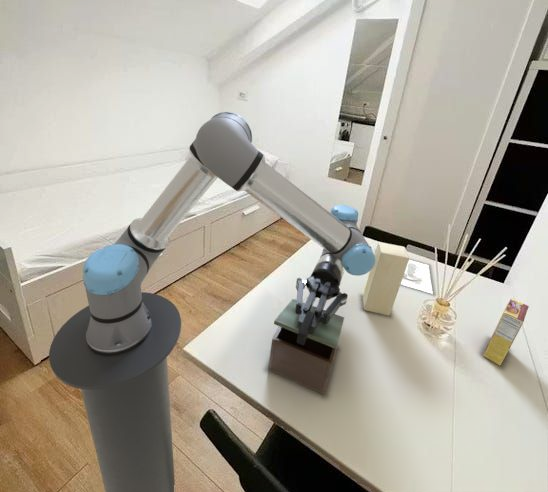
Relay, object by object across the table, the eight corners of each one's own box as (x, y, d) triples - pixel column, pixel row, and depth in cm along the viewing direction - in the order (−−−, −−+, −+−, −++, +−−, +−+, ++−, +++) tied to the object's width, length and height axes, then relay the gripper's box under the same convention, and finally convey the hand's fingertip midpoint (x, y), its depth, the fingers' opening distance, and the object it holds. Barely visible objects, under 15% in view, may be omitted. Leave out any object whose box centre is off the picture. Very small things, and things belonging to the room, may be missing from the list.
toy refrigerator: (387, 300, 96) (404, 245, 87) (390, 316, 89) (409, 258, 81) (362, 294, 97) (377, 240, 89) (363, 310, 90) (380, 252, 82)
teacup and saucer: (396, 276, 109) (399, 267, 107) (396, 265, 115) (399, 256, 114) (421, 283, 106) (424, 274, 104) (420, 272, 113) (423, 263, 111)
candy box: (489, 338, 84) (511, 297, 78) (507, 348, 82) (531, 306, 76) (481, 355, 79) (504, 311, 73) (499, 366, 76) (525, 322, 70)
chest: (324, 395, 64) (332, 364, 60) (268, 369, 68) (272, 339, 65) (336, 348, 76) (343, 320, 72) (287, 329, 80) (292, 301, 76)
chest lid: (336, 349, 58) (336, 345, 58) (273, 324, 63) (274, 320, 62) (343, 320, 72) (344, 317, 72) (292, 301, 76) (292, 298, 76)
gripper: (349, 293, 77) (330, 365, 56) (302, 278, 81) (268, 340, 60) (355, 270, 74) (337, 337, 53) (306, 255, 78) (272, 312, 57)
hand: (301, 338), depth 57 cm, fingers closed
